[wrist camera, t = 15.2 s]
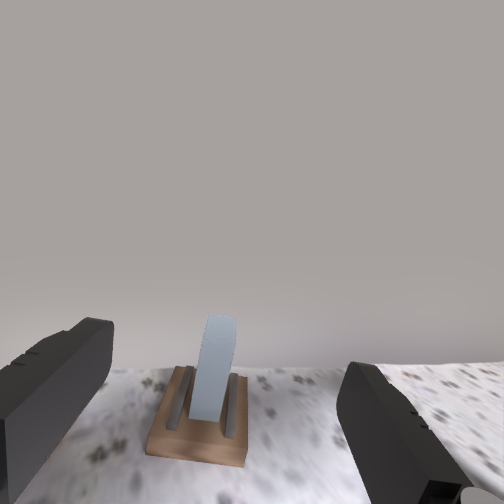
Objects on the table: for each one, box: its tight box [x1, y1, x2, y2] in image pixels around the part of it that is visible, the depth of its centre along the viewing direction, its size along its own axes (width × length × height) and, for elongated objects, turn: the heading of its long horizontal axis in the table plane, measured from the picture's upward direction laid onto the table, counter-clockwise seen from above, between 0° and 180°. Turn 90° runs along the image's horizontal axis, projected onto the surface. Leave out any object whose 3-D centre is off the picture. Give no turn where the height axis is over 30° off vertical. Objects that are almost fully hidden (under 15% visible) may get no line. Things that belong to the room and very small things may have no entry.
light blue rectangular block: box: [188, 314, 236, 422], centre depth 34 cm, size 4×6×12 cm
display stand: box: [146, 366, 248, 467], centre depth 36 cm, size 12×12×4 cm
